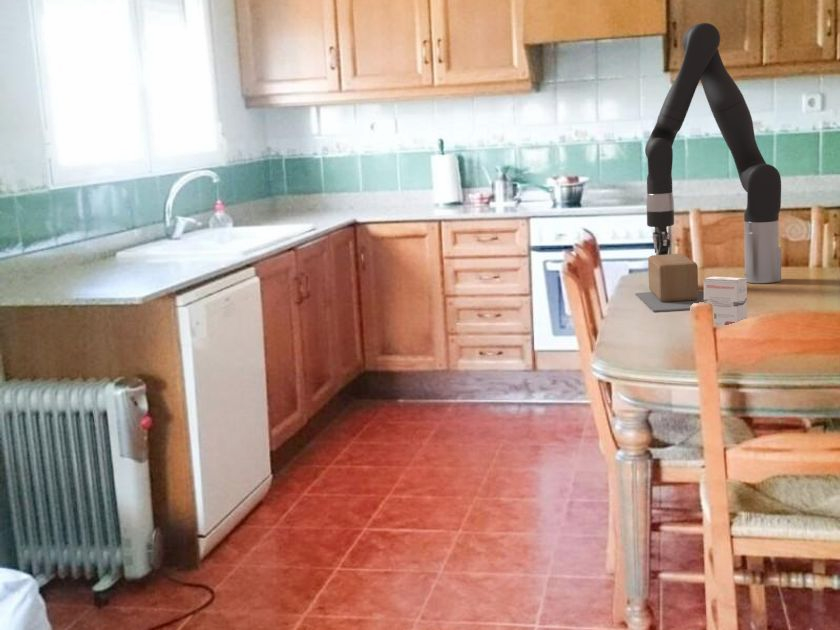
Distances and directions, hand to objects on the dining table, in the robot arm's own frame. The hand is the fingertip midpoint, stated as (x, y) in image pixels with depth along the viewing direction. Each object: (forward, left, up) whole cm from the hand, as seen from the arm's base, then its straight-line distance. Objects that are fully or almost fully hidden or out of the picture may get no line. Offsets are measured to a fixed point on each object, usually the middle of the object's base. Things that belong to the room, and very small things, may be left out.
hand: (661, 269), depth 302 cm
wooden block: (0, +8, 0) cm, 8 cm away
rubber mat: (+1, +24, -5) cm, 25 cm away
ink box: (-2, +63, -5) cm, 63 cm away
